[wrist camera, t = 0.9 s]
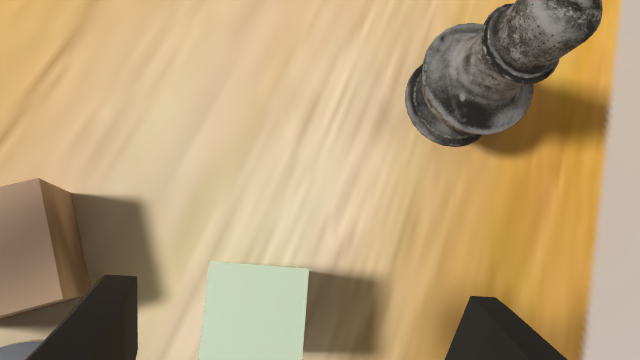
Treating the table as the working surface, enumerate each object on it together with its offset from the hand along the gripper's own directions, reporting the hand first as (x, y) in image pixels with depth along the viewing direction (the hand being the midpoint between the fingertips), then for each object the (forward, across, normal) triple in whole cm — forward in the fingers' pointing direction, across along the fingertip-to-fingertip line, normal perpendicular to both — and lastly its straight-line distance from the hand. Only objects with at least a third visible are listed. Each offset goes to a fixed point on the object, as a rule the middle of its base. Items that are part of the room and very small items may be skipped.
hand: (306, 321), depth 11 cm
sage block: (+11, 0, +10) cm, 14 cm away
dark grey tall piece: (+18, -10, 0) cm, 20 cm away
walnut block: (+12, +11, +8) cm, 18 cm away
